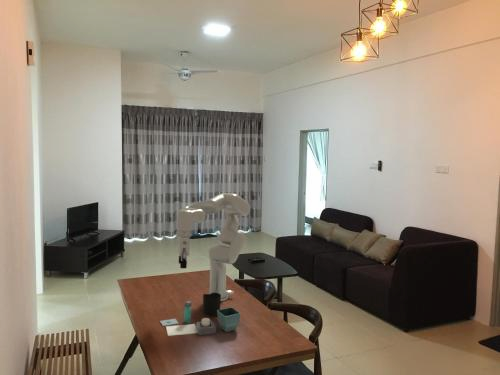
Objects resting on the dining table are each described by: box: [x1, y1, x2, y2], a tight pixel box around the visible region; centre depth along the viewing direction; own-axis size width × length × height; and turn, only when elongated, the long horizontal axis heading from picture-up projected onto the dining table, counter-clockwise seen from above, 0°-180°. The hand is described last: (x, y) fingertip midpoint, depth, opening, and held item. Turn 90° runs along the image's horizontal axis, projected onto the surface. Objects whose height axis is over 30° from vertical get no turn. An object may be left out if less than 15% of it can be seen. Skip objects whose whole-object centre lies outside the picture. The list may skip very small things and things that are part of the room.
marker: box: [183, 300, 192, 324], centre depth 206 cm, size 3×3×10 cm
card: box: [159, 318, 180, 327], centre depth 205 cm, size 8×6×1 cm
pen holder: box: [202, 292, 222, 317], centre depth 218 cm, size 9×9×10 cm
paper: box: [165, 323, 198, 337], centre depth 197 cm, size 14×10×1 cm
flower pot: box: [216, 306, 242, 333], centre depth 199 cm, size 9×9×9 cm
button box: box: [195, 320, 216, 336], centre depth 197 cm, size 8×8×3 cm
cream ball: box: [201, 317, 211, 327], centre depth 197 cm, size 4×4×4 cm
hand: (182, 265), depth 214 cm, fingers open, 9 cm apart
